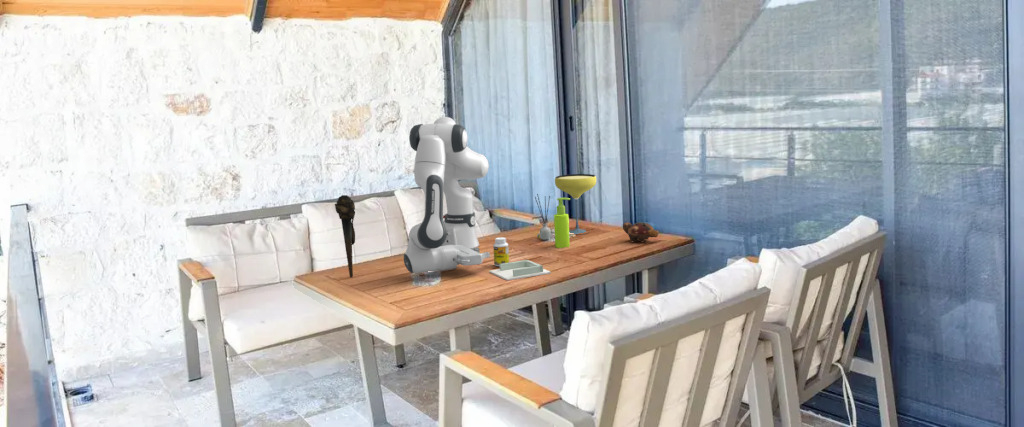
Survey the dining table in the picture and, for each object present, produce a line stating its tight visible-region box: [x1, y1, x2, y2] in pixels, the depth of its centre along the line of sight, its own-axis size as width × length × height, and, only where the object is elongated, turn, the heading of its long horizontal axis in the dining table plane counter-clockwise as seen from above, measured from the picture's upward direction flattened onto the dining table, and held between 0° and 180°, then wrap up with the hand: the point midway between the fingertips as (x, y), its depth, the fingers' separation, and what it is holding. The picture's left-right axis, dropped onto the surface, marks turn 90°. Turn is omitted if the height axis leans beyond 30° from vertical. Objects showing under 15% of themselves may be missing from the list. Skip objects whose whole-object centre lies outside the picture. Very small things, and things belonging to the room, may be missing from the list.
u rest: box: [488, 259, 552, 281], centre depth 285 cm, size 17×15×3 cm
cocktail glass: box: [554, 173, 597, 234], centre depth 353 cm, size 18×18×25 cm
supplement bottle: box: [492, 237, 510, 268], centre depth 298 cm, size 6×6×10 cm
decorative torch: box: [334, 194, 356, 278], centre depth 289 cm, size 7×7×30 cm
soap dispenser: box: [553, 197, 571, 249], centre depth 325 cm, size 6×7×20 cm
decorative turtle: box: [622, 221, 659, 242], centre depth 329 cm, size 10×15×8 cm, turn 64°
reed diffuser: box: [534, 193, 552, 240], centre depth 341 cm, size 10×7×20 cm
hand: (483, 252), depth 295 cm, fingers open, 8 cm apart
